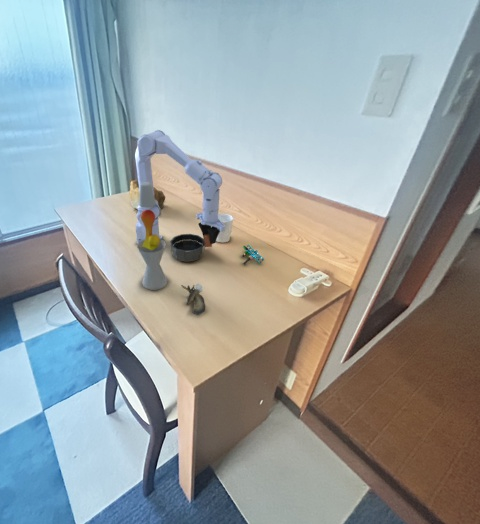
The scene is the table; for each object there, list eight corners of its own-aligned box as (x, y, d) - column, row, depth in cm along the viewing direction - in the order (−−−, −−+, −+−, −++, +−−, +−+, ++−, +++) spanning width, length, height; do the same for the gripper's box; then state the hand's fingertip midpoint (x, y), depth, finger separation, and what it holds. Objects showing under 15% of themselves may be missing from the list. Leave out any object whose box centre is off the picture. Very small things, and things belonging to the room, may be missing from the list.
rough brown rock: (174, 213, 147) (175, 185, 139) (145, 219, 139) (144, 189, 132) (154, 201, 164) (153, 175, 157) (127, 205, 157) (125, 178, 149)
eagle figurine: (175, 295, 90) (181, 310, 82) (185, 276, 88) (193, 290, 80) (194, 303, 93) (202, 318, 85) (205, 285, 91) (214, 299, 83)
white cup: (230, 244, 118) (232, 222, 112) (211, 242, 119) (212, 221, 114) (231, 235, 124) (233, 214, 118) (213, 233, 126) (214, 213, 120)
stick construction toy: (268, 261, 102) (257, 246, 99) (255, 274, 102) (243, 260, 99) (252, 253, 113) (241, 239, 110) (239, 265, 113) (228, 252, 111)
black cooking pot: (171, 263, 106) (170, 246, 101) (170, 245, 117) (169, 229, 112) (214, 260, 106) (215, 243, 102) (208, 243, 117) (209, 226, 113)
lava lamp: (136, 283, 98) (122, 184, 78) (154, 271, 103) (145, 176, 84) (155, 293, 93) (145, 191, 73) (173, 280, 98) (168, 181, 79)
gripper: (189, 205, 105) (190, 237, 112) (215, 218, 94) (213, 252, 102) (204, 200, 108) (204, 232, 115) (231, 212, 97) (228, 246, 105)
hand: (209, 241), depth 109 cm, fingers open, 3 cm apart
